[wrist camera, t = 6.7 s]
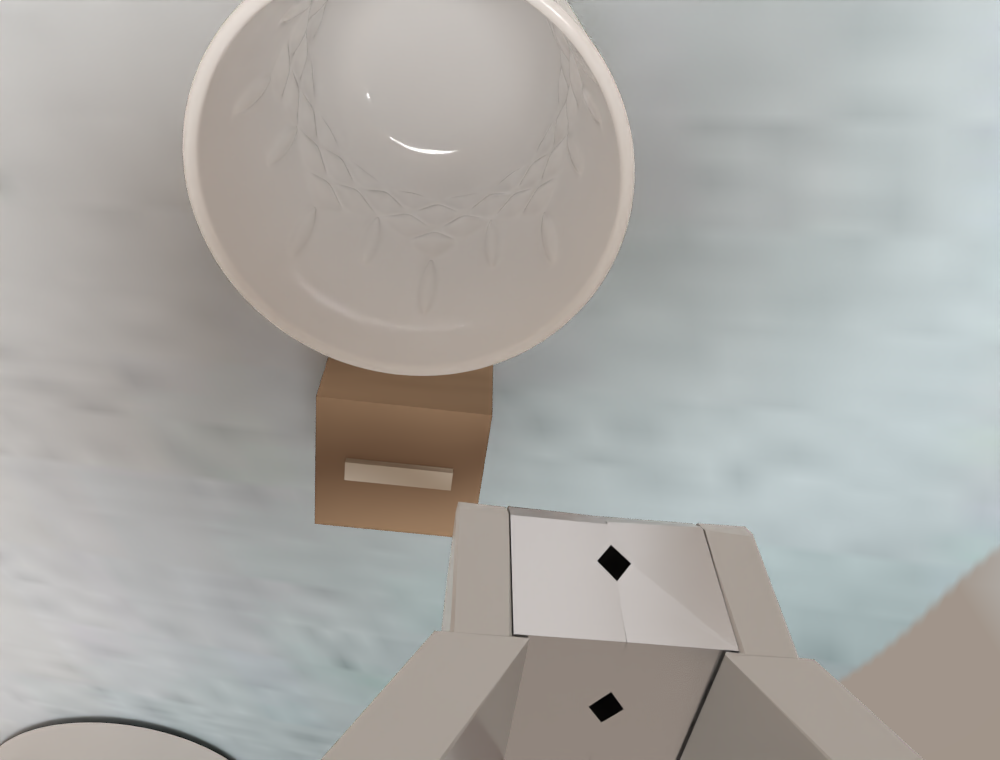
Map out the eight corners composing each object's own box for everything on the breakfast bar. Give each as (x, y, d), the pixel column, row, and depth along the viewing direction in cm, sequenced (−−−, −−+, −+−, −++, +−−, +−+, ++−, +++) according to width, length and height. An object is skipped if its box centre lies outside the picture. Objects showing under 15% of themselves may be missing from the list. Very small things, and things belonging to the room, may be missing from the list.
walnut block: (476, 440, 31) (472, 543, 26) (340, 426, 30) (313, 528, 26) (493, 325, 28) (492, 419, 24) (343, 307, 28) (314, 400, 23)
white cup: (313, 186, 25) (222, 374, 17) (281, -119, 21) (134, -66, 12) (575, 192, 25) (611, 381, 17) (599, -109, 21) (664, -52, 12)
